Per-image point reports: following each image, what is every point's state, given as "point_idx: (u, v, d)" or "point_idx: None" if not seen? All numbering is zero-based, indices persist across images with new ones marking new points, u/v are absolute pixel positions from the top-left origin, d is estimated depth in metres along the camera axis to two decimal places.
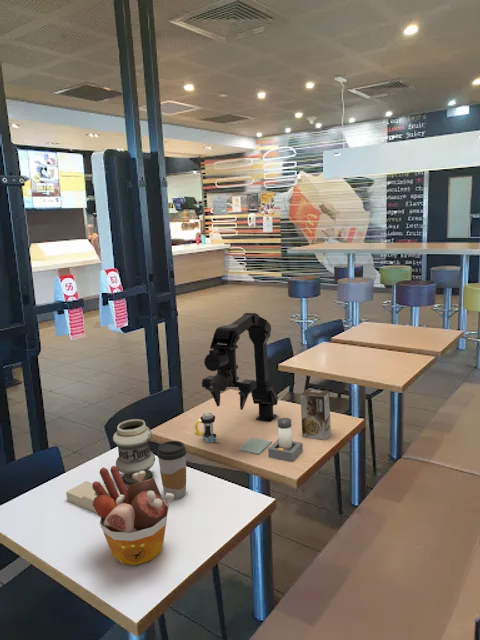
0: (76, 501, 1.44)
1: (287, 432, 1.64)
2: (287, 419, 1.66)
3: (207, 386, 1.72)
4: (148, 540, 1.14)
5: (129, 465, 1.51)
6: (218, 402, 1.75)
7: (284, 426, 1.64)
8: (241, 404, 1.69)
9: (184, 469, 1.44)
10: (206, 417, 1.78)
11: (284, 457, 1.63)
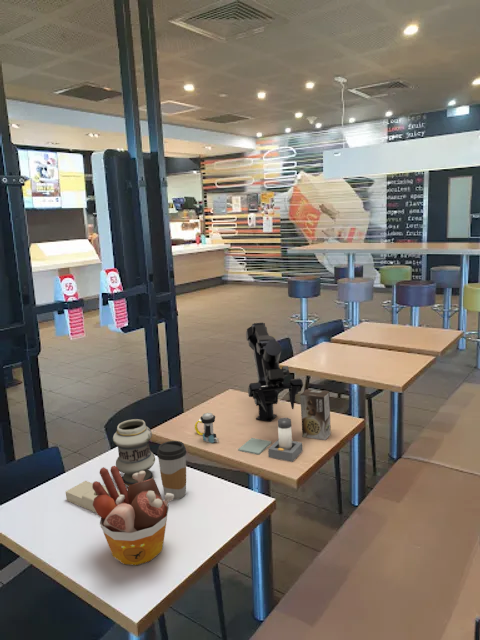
0: (75, 500, 1.44)
1: (287, 432, 1.64)
2: (287, 419, 1.66)
3: (257, 387, 1.72)
4: (148, 540, 1.14)
5: (129, 465, 1.51)
6: None
7: (284, 426, 1.64)
8: (293, 401, 1.72)
9: (184, 469, 1.44)
10: (206, 417, 1.78)
11: (284, 457, 1.63)
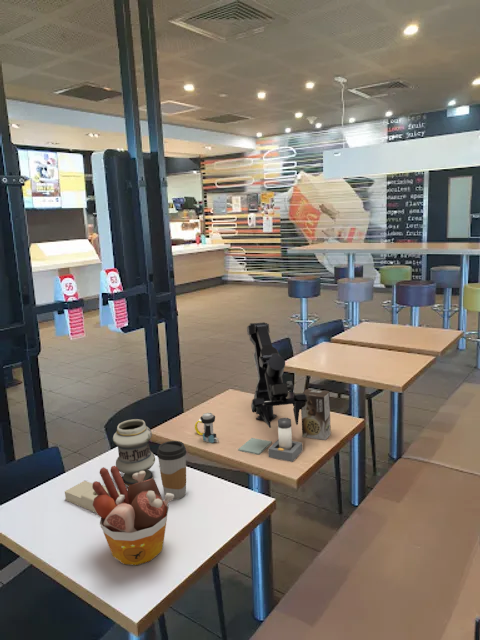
0: (74, 500, 1.44)
1: (287, 432, 1.64)
2: (287, 419, 1.66)
3: (261, 402, 1.68)
4: (148, 540, 1.14)
5: (129, 465, 1.51)
6: (270, 423, 1.67)
7: (284, 426, 1.64)
8: (297, 417, 1.69)
9: (184, 469, 1.44)
10: (206, 417, 1.78)
11: (284, 457, 1.63)
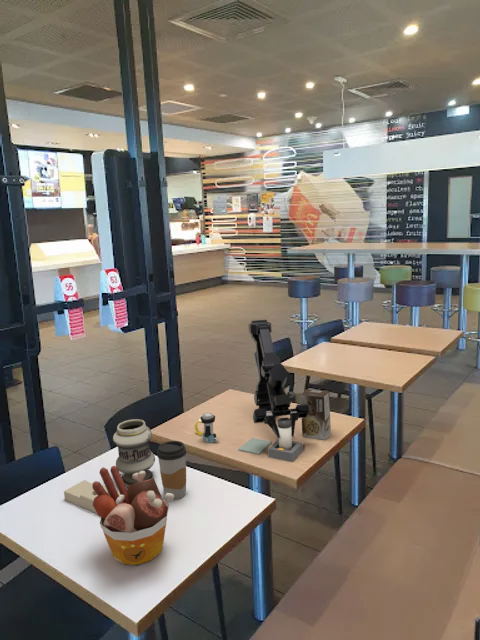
0: (74, 500, 1.44)
1: (287, 432, 1.64)
2: (288, 419, 1.66)
3: (263, 413, 1.66)
4: (148, 540, 1.14)
5: (129, 465, 1.51)
6: None
7: (284, 426, 1.64)
8: (293, 429, 1.66)
9: (184, 469, 1.44)
10: (206, 417, 1.78)
11: (284, 457, 1.63)
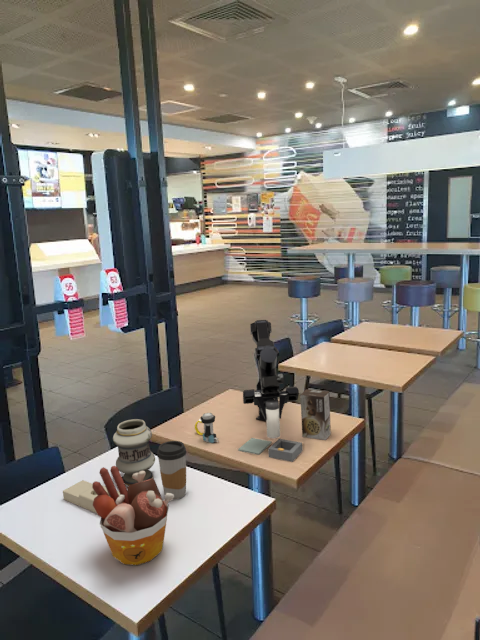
0: (72, 500, 1.45)
1: (274, 414, 1.65)
2: (275, 401, 1.67)
3: (251, 394, 1.68)
4: (148, 540, 1.14)
5: (129, 465, 1.51)
6: None
7: (271, 407, 1.65)
8: (281, 411, 1.67)
9: (184, 469, 1.44)
10: (206, 417, 1.78)
11: (284, 457, 1.63)
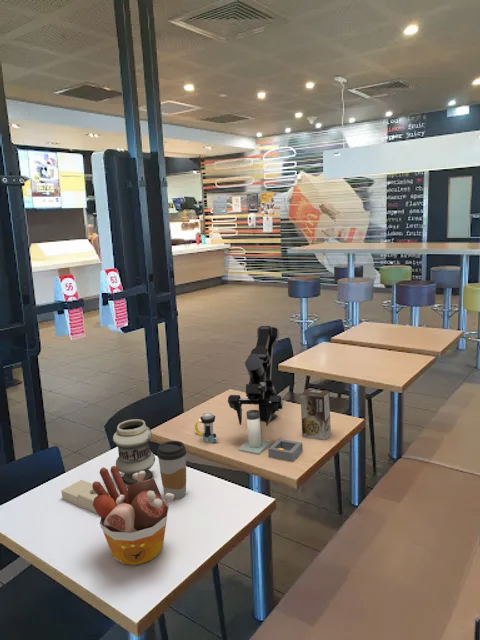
0: (71, 499, 1.45)
1: (253, 424, 1.71)
2: (256, 411, 1.73)
3: (235, 399, 1.75)
4: (148, 540, 1.14)
5: (129, 465, 1.51)
6: (241, 420, 1.73)
7: (250, 417, 1.71)
8: (268, 418, 1.71)
9: (184, 469, 1.44)
10: (206, 417, 1.78)
11: (284, 457, 1.63)
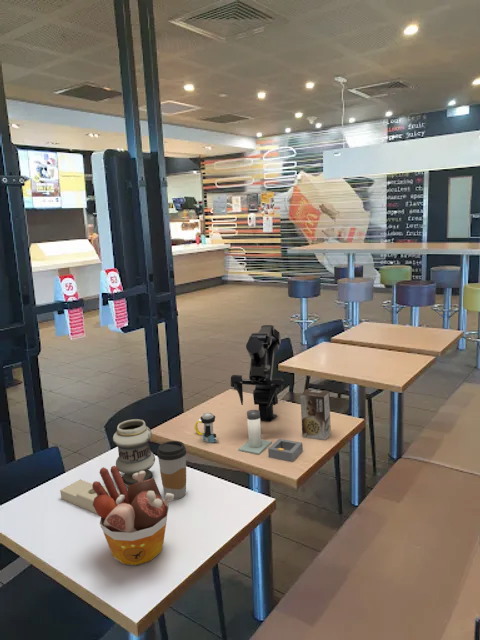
0: (70, 499, 1.45)
1: (253, 424, 1.71)
2: (257, 411, 1.73)
3: (238, 380, 1.77)
4: (148, 540, 1.14)
5: (129, 465, 1.51)
6: (242, 400, 1.77)
7: (250, 417, 1.71)
8: (270, 400, 1.76)
9: (184, 469, 1.44)
10: (206, 417, 1.78)
11: (284, 457, 1.63)
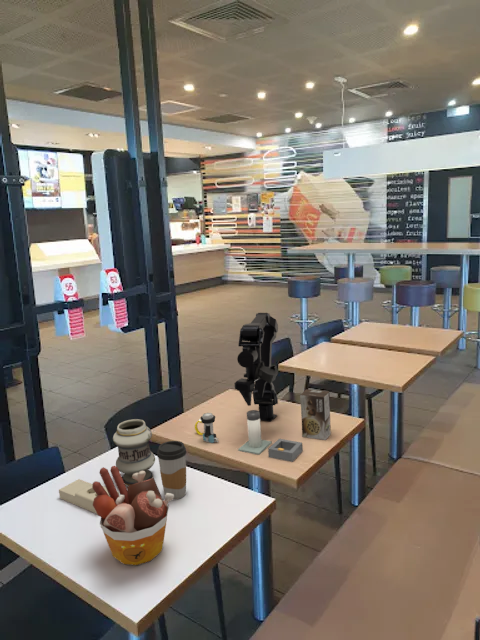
0: (68, 498, 1.45)
1: (253, 424, 1.71)
2: (257, 411, 1.72)
3: (253, 387, 1.73)
4: (148, 540, 1.14)
5: (129, 465, 1.51)
6: None
7: (250, 418, 1.70)
8: (263, 391, 1.85)
9: (184, 469, 1.44)
10: (206, 417, 1.78)
11: (284, 457, 1.63)
